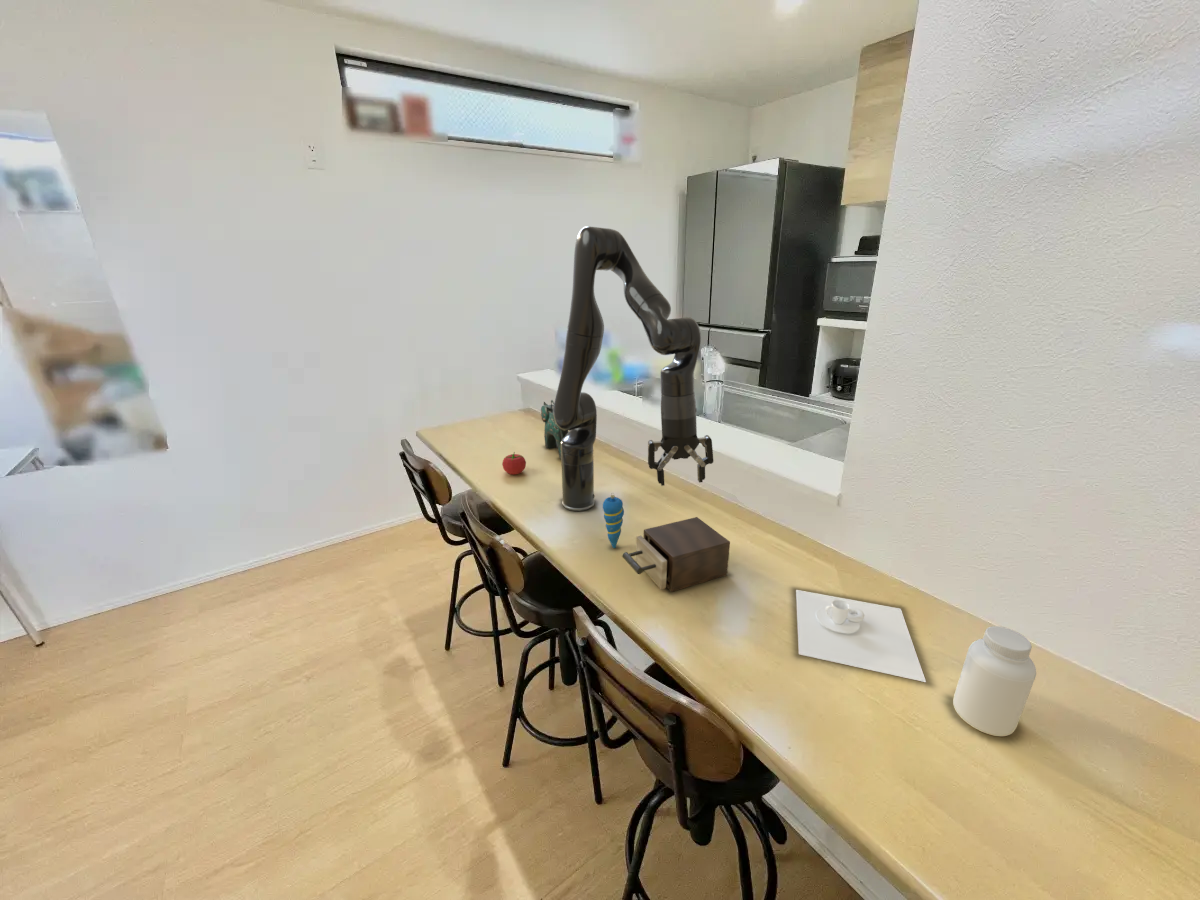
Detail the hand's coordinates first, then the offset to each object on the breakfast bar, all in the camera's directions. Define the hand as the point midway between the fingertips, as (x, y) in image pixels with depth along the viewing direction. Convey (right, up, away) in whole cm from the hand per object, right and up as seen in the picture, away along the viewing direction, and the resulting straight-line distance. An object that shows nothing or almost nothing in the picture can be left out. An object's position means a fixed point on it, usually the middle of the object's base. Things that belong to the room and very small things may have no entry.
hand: (681, 482), depth 111 cm
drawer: (-4, -20, +1) cm, 20 cm away
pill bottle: (+41, -34, -35) cm, 64 cm away
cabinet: (+1, -20, +3) cm, 20 cm away
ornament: (-15, -17, +12) cm, 26 cm away
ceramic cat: (-34, +6, +75) cm, 83 cm away
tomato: (-47, -1, +57) cm, 74 cm away
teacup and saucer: (+30, -27, -17) cm, 44 cm away
